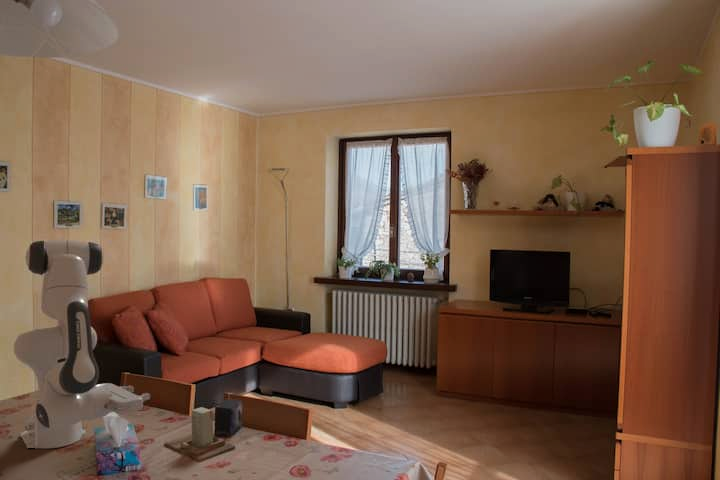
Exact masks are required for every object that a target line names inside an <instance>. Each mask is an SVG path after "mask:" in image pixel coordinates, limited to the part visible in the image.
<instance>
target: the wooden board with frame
mask: <svg viewBox="0 0 720 480" xmlns="http://www.w3.org/2000/svg"><path fill="white" fill-rule="evenodd" d="M163 445H164V446H165V447H167V448H169V449H171V450H174V451H176V452H178V453H180V454H183V455H185V456H187V457H189V458H191V459H193V460H194V461H195V460H196V461H197V462H203V461H205V460H207V459H210V458H213V457H215V456H218V455H221V454H224V453H227V452H229V451H231V450H235V449H236V445H233V444H231V443H229V442H226V439H224V438H221V437H219V436H214V434H213V443H212V444H209V445H206V446H203V447H200V448H196V447H194V446H192V433H190V434H187V435H184V436H181V437H178V438H175V439H172V440H169V441H165V442H164V443H163Z"/></svg>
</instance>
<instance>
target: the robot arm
mask: <svg viewBox="0 0 720 480" xmlns="http://www.w3.org/2000/svg"><path fill="white" fill-rule="evenodd" d="M102 249H103V248H102V246H101V245H100V244H99V243H95V242H91V241H89V242H84V241H77V240H52V241H51V240H49V241H48V240H47V241H44V240H37V241H33V242H32V243H31V244H29V247H28V248H27V250H26V253H25V264H26V266H27V268H28V270H29V271H30V272H31V273H33V274H35V275H41V276H43V281H42V291H41V303H40V304H41V307H40V309H41V312H42V313H43V314H44V315H45V316H47V317H49V318H51V319H54V320H57V326H55V327H46V328H38V329H37V328H36V329H33V330H32V329H31V330H29V331H24V332H23V333H20V334H19V335H18V336H17V337H16V339H15V342H14V343H13V344H14V345H13V351H14V355H15V357H16V358H17V359H18V360H19V361H20V363H23V364H24V365H26V366H28V367H29V368H30V369H31V370H32V372H33V373H34V375H35V377H36V380H37V386H38V387H37V388H38V399H37V402H36V405H35V412H34V414H33V415H32V416H31V417H30V418H28V420H27V423H25V424H24V431H23V432H21V433H20V434H19V435H20V436H21V437H20V438H22V439H23V440H22V439H21V440H22V442H23V441H24V442H23V444H24V443H25V444H26V445H25V444H24V445H25V447H26V446H27V447H26V448H27V449H28V448H35V449H55V448H56V449H57V448H61V447H65V446H69V445H72V444H75V443H77V442H78V441H80V440H81V438H82V437H83V436H84V435H86V434H87V432H86V430H85V429H83V428H82V427H83V426H82V421H91V420H96V419H99V418H100V419H101V418H102V417H106V416H107V415H109V412H110V411H111V412H113V413H115V414H118V415H125V414H129V413H134V412H139V411H141V410H142V409H143V406H144V402H146V401H148V400H150V399H151V394H150V393H148V392H144V393H142V394H141V395H138V394H135V393H133V392H135V387H134V386H132V385H128V386H125V385H124V386H118V385H116V384H113V383H111V382H109V383H107V382H106V383H100V384H99V383H98V381H99V376H100V369H99V366H98V363H97V360H96V358H95V355H94V350H95V347H96V346H97V342H98V335H97V332H96V330H95V329H94V328H93V326H92V324H91V316H90V310H89V303H88V302H89V301H88V299H89V298H88V294H89V292H88V288H89V287H88V285H89V284H88V276H90V275H94V274H97V273H99V272H100V271H101V269H102V266H103V264H104V261H105V255H104V251H103V250H102ZM62 359H65V361H61V362H58V360H62Z"/></svg>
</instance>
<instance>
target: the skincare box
mask: <svg viewBox="0 0 720 480" xmlns="http://www.w3.org/2000/svg"><path fill="white" fill-rule="evenodd" d="M190 411H191V434H192V446H194V447H196V448H200V447H203V446H206V445H209V444H212V443H213V435H214V419H213V418H214V417H213V416H214V414H213V413H214V412H213V411H214V410H212V409H209V408H206V407H203V406H201V407H198V408H194V409H191V410H190Z"/></svg>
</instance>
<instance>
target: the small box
mask: <svg viewBox="0 0 720 480" xmlns="http://www.w3.org/2000/svg"><path fill="white" fill-rule="evenodd" d="M242 427H243V400H242V399H236V398H235V399H234V398H226V399H224V400H223V401H222V402H220V403H218V404H217V405H215V406H214V427H213V435H214V436H216V437H224V438H231V437H232V436H233V435H235V434H236V433H237V432H238V431H239V430H241V429H242Z"/></svg>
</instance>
